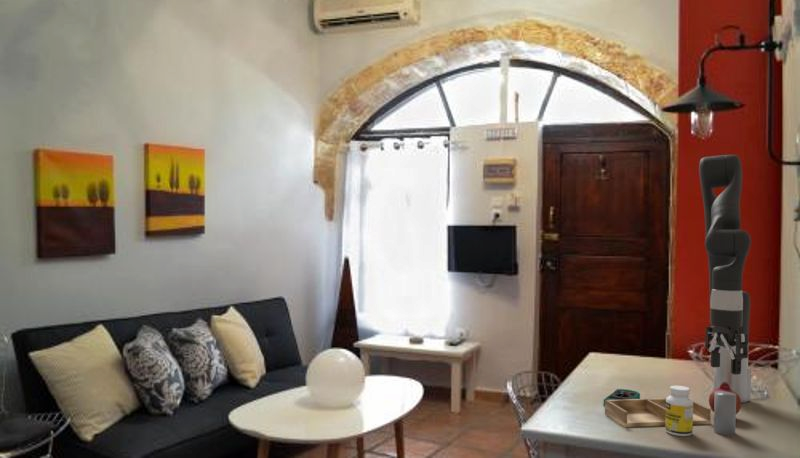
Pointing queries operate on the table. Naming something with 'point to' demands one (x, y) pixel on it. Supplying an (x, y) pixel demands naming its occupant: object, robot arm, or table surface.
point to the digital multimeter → (623, 395)
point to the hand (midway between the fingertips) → (725, 370)
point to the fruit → (726, 388)
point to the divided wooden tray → (648, 412)
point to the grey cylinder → (725, 413)
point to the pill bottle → (679, 412)
